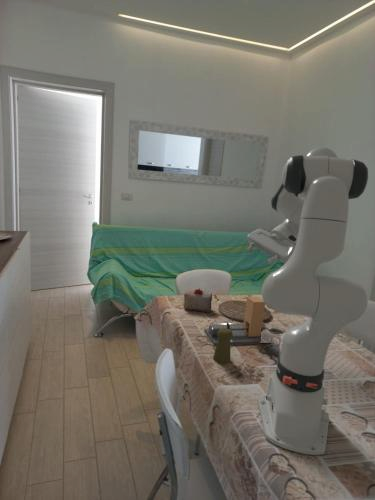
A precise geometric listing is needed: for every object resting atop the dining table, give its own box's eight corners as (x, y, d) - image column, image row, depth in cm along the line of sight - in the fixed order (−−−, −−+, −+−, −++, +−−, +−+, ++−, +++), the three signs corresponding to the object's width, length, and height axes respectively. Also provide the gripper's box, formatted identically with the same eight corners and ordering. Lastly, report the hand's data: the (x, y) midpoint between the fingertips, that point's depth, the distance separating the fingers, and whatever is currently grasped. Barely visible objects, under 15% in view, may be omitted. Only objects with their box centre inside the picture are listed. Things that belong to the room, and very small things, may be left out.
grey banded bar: (261, 331, 142) (263, 320, 141) (266, 335, 138) (267, 324, 137) (208, 333, 135) (209, 321, 134) (211, 337, 132) (213, 325, 131)
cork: (229, 365, 115) (233, 335, 113) (212, 361, 116) (215, 331, 114) (231, 356, 121) (235, 327, 119) (214, 353, 122) (217, 324, 120)
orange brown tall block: (253, 329, 142) (258, 296, 139) (260, 336, 136) (265, 302, 133) (242, 330, 140) (247, 296, 138) (248, 336, 135) (253, 302, 132)
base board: (257, 329, 146) (257, 327, 146) (271, 343, 135) (271, 340, 134) (204, 331, 139) (204, 328, 139) (214, 345, 128) (214, 342, 128)
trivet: (233, 300, 182) (233, 296, 181) (278, 314, 168) (279, 310, 167) (208, 312, 162) (208, 308, 161) (257, 329, 148) (257, 325, 147)
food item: (181, 310, 160) (183, 290, 158) (183, 304, 168) (185, 285, 166) (210, 314, 159) (213, 294, 157) (211, 308, 166) (213, 288, 164)
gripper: (260, 221, 141) (236, 239, 136) (302, 242, 128) (278, 263, 123) (260, 232, 145) (238, 250, 140) (301, 254, 132) (278, 274, 127)
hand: (257, 256), depth 131 cm, fingers open, 8 cm apart
